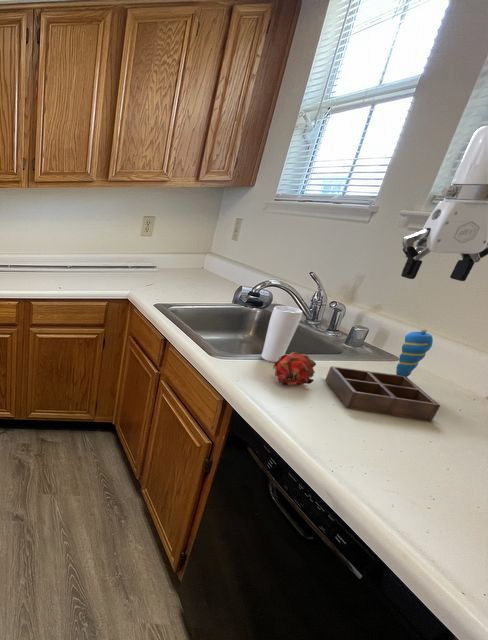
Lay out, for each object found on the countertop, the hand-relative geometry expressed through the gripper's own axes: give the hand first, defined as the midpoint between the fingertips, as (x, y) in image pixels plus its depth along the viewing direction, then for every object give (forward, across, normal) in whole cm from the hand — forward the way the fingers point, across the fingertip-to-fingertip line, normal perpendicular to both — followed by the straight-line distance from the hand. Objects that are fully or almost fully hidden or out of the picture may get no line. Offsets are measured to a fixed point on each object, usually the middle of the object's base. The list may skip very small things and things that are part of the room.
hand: (432, 278), depth 92 cm
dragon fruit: (+28, -21, 0) cm, 35 cm away
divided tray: (+28, -5, -6) cm, 29 cm away
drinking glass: (+28, -18, +16) cm, 37 cm away
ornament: (+28, +8, +6) cm, 30 cm away
